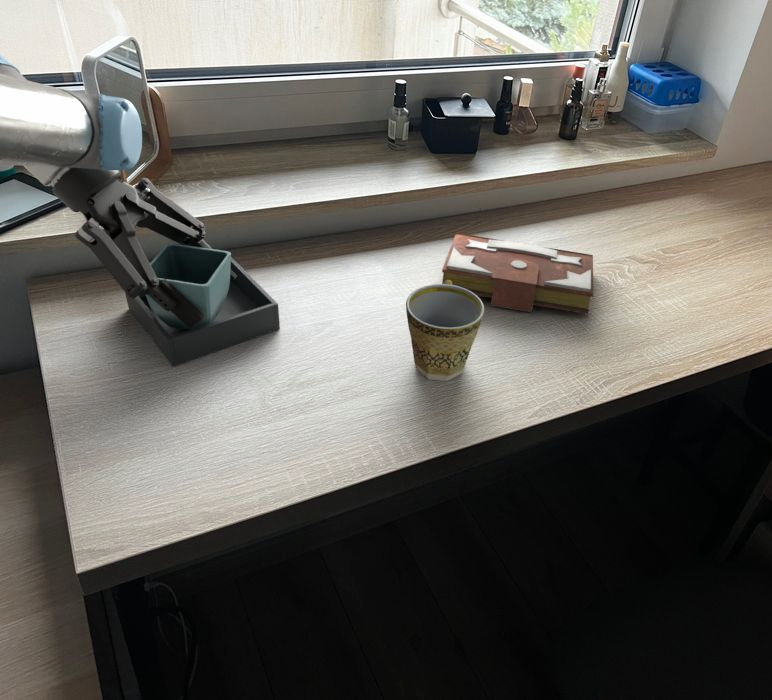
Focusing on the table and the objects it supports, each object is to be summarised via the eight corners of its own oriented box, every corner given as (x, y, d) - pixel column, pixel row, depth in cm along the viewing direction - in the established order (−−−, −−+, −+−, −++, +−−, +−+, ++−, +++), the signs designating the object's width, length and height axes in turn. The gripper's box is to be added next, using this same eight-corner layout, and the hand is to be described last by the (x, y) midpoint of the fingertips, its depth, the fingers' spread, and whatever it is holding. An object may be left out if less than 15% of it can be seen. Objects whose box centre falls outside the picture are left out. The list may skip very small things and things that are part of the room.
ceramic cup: (474, 393, 94) (483, 332, 88) (398, 385, 94) (401, 324, 88) (478, 334, 105) (485, 275, 98) (409, 326, 104) (412, 268, 98)
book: (588, 275, 122) (594, 249, 119) (588, 321, 109) (595, 292, 106) (454, 254, 123) (457, 226, 120) (438, 296, 110) (441, 267, 107)
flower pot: (238, 306, 101) (232, 250, 96) (215, 343, 95) (207, 286, 89) (176, 297, 102) (167, 241, 96) (149, 334, 95) (137, 276, 89)
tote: (172, 367, 93) (167, 340, 90) (128, 308, 101) (122, 283, 99) (280, 329, 101) (278, 303, 98) (231, 278, 110) (228, 253, 107)
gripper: (29, 190, 77) (192, 337, 85) (138, 119, 94) (264, 247, 102) (-3, 226, 80) (157, 363, 89) (108, 151, 97) (232, 272, 106)
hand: (214, 301), depth 95 cm, fingers closed on flower pot, 9 cm apart
